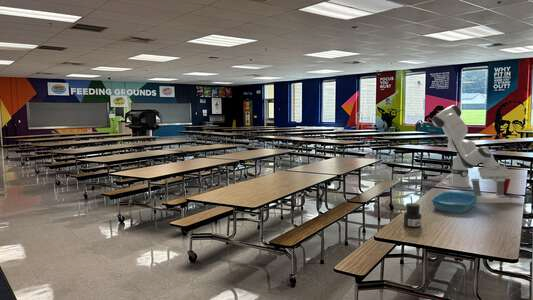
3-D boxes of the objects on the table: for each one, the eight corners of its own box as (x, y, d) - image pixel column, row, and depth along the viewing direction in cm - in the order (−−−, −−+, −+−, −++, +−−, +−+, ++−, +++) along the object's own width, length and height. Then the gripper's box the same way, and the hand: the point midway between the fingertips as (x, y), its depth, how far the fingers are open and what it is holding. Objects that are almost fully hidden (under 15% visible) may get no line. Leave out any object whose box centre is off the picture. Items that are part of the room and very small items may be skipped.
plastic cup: (505, 191, 291) (506, 175, 290) (513, 194, 281) (514, 178, 280) (491, 191, 293) (491, 175, 291) (498, 194, 282) (498, 178, 281)
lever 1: (473, 196, 263) (471, 179, 266) (479, 196, 263) (477, 179, 266) (475, 195, 261) (472, 178, 264) (481, 195, 261) (479, 178, 264)
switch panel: (467, 198, 269) (467, 193, 269) (497, 197, 270) (497, 193, 270) (478, 203, 256) (479, 198, 255) (510, 202, 256) (510, 197, 256)
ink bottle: (409, 229, 201) (410, 207, 199) (399, 224, 209) (400, 203, 208) (425, 227, 203) (426, 205, 202) (414, 223, 212) (415, 202, 211)
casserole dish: (465, 217, 223) (465, 205, 223) (426, 210, 238) (427, 199, 238) (480, 205, 251) (481, 194, 250) (445, 200, 265) (445, 190, 265)
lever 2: (495, 195, 264) (496, 178, 263) (501, 195, 264) (502, 178, 263) (497, 195, 261) (498, 179, 260) (504, 195, 261) (505, 178, 260)
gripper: (479, 164, 269) (486, 180, 260) (507, 164, 270) (515, 180, 261) (475, 170, 274) (482, 185, 265) (502, 169, 275) (511, 185, 266)
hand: (499, 183), depth 263 cm, fingers closed, pressing on lever 2
